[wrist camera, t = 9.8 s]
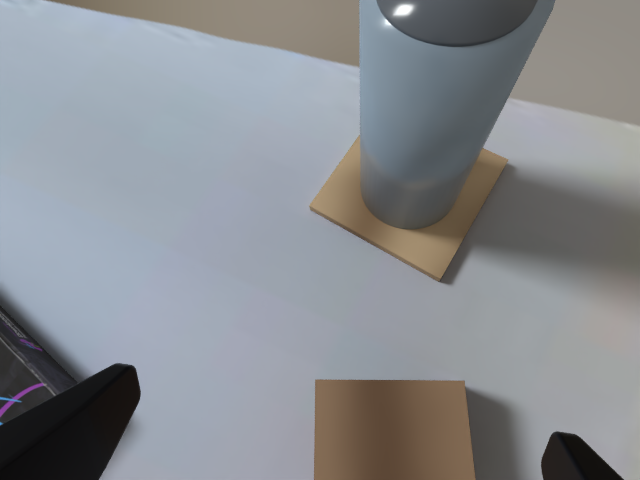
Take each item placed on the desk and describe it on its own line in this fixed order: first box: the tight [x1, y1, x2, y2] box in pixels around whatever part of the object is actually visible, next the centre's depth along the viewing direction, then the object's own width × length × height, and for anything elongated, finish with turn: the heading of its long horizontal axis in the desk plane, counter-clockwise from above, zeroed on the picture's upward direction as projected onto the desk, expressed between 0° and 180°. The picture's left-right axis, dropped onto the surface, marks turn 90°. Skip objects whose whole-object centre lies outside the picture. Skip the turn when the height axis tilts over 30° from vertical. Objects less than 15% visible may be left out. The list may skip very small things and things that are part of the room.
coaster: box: [309, 135, 508, 282], centre depth 25 cm, size 9×9×1 cm
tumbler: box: [360, 0, 555, 229], centre depth 18 cm, size 6×6×13 cm
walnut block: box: [314, 380, 476, 480], centre depth 19 cm, size 7×5×3 cm
